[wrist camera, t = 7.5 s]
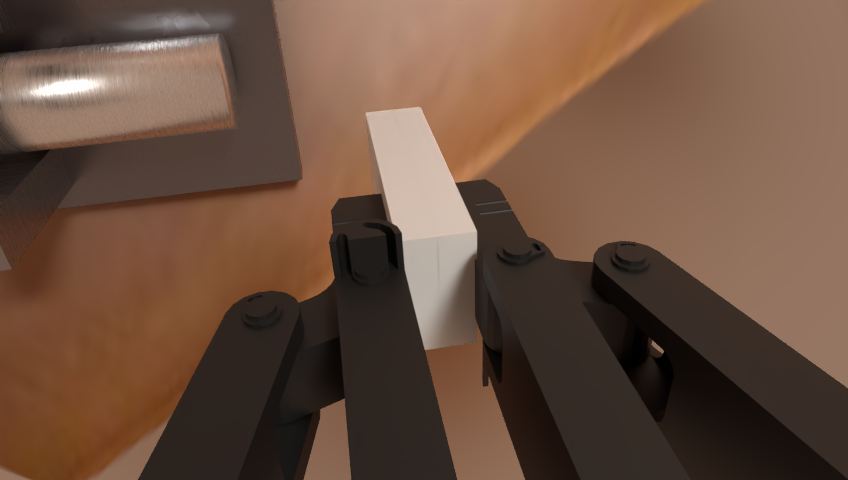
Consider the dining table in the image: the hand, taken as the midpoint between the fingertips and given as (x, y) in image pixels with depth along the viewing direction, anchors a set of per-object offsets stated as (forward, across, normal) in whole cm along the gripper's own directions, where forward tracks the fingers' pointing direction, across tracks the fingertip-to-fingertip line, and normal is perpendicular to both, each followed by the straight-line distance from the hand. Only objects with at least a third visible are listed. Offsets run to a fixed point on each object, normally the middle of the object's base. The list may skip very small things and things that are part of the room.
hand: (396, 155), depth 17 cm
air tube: (+13, -16, -1) cm, 21 cm away
